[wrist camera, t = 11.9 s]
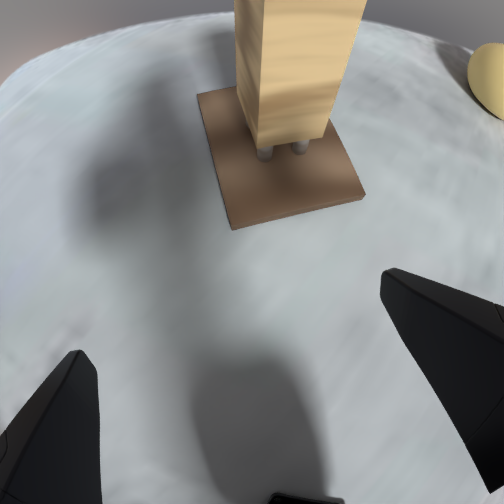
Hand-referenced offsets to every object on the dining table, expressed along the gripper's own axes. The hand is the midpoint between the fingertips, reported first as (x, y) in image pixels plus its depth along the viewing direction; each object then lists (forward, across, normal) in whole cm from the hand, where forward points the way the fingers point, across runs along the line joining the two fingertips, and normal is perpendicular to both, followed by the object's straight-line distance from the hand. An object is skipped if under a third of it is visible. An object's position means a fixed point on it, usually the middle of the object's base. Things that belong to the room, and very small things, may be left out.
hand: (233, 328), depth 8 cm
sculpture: (+23, -42, -3) cm, 48 cm away
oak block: (+17, -7, -4) cm, 19 cm away
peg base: (+20, -7, -1) cm, 21 cm away
